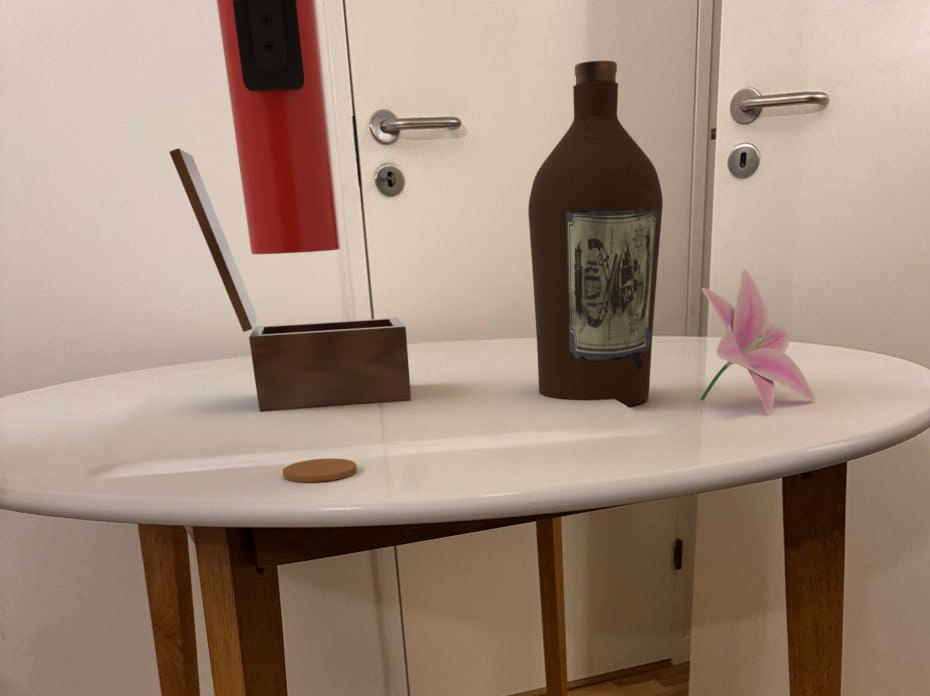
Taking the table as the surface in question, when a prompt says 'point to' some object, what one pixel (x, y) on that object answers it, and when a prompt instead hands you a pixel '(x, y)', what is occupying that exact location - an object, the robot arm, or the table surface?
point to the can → (284, 148)
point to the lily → (755, 344)
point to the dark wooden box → (330, 364)
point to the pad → (319, 470)
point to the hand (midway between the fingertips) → (276, 93)
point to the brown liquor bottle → (595, 252)
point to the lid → (214, 238)
